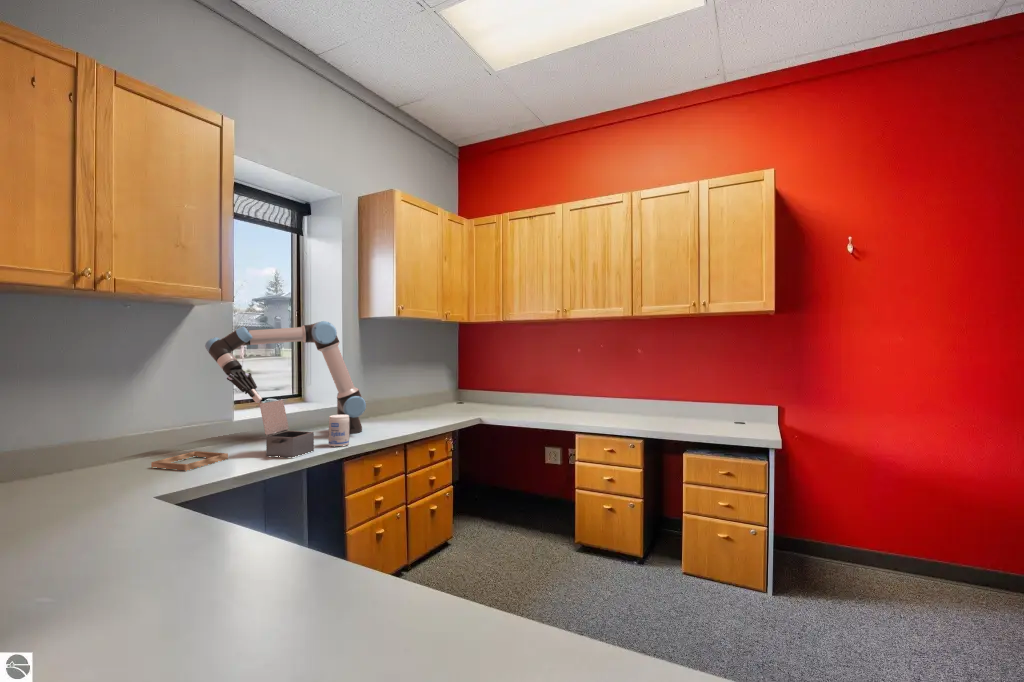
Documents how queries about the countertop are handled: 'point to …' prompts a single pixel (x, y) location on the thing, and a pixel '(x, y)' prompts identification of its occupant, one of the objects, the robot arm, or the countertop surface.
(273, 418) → the lid
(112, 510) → the countertop surface
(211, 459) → the corral
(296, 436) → the dark grey storage box
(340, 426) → the supplement tub
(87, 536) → the countertop surface
